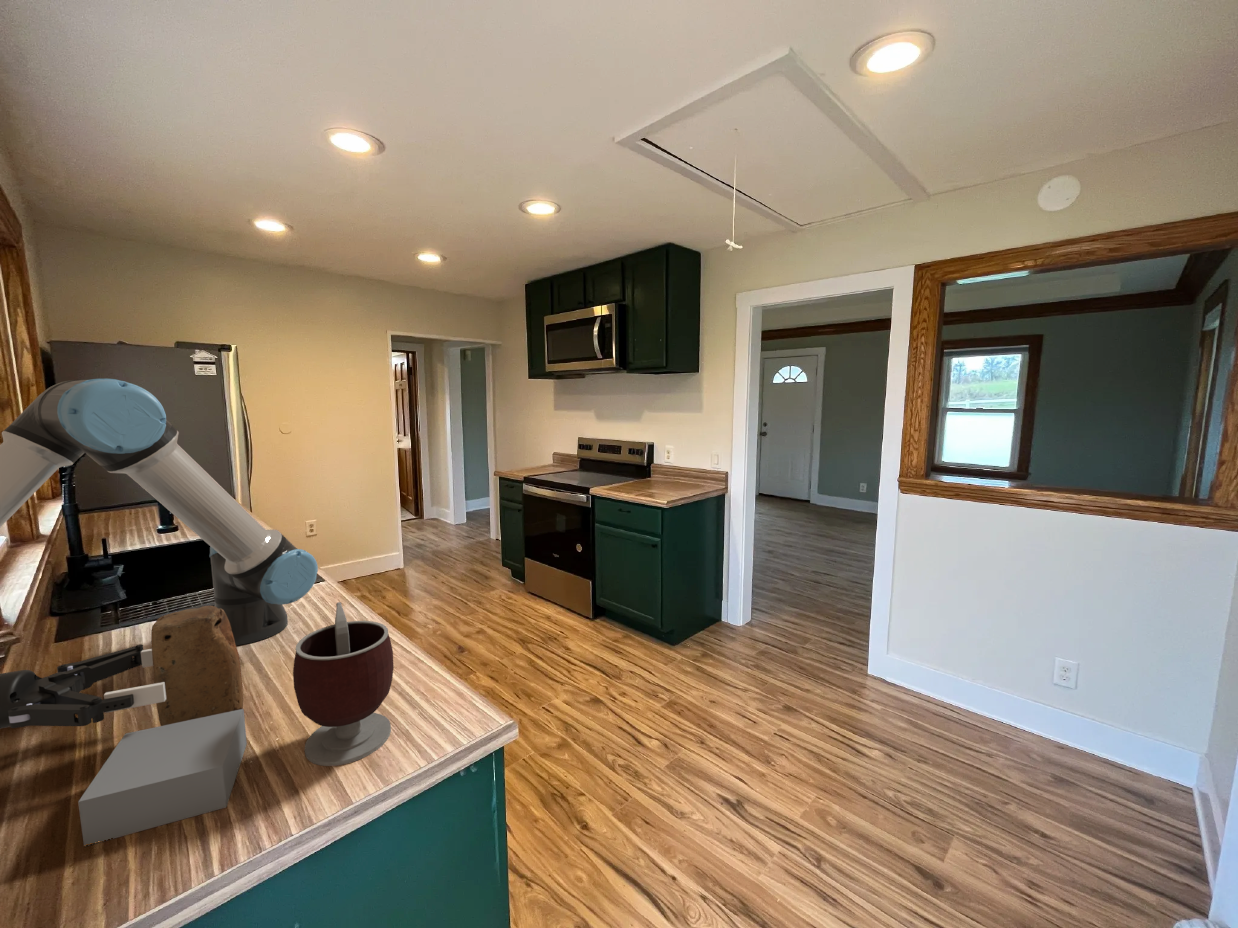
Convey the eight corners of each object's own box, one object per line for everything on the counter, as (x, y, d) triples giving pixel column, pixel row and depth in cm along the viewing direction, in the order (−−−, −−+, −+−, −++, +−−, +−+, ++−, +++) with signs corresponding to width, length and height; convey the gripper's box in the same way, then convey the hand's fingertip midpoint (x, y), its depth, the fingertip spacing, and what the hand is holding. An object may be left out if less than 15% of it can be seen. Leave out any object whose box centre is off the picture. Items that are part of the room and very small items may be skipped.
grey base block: (129, 771, 75) (125, 733, 74) (246, 743, 81) (243, 708, 80) (84, 846, 62) (78, 801, 62) (226, 807, 69) (222, 765, 68)
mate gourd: (403, 748, 81) (398, 627, 78) (299, 782, 73) (289, 650, 71) (387, 699, 94) (383, 594, 91) (298, 724, 86) (290, 610, 84)
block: (159, 753, 79) (145, 629, 76) (162, 728, 85) (150, 612, 82) (246, 726, 85) (236, 611, 83) (243, 704, 91) (234, 596, 89)
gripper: (40, 683, 84) (202, 656, 94) (-74, 786, 62) (153, 737, 72) (34, 640, 83) (199, 617, 93) (-84, 729, 61) (147, 687, 71)
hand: (179, 669), depth 82 cm, fingers open, 13 cm apart
